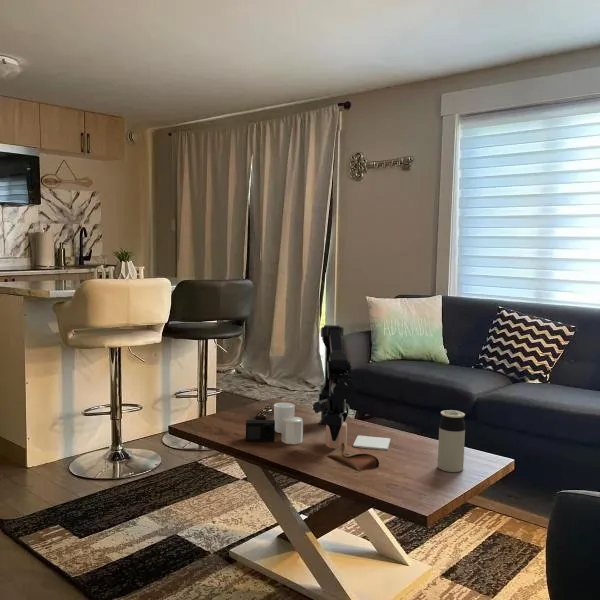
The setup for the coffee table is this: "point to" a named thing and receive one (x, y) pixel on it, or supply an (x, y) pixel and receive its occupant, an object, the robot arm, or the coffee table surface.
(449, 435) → the travel mug
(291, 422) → the off-white cup
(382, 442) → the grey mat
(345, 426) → the terracotta cup
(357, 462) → the sunglasses case
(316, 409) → the robot arm
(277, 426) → the white cup
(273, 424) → the digital camera
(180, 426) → the coffee table surface
